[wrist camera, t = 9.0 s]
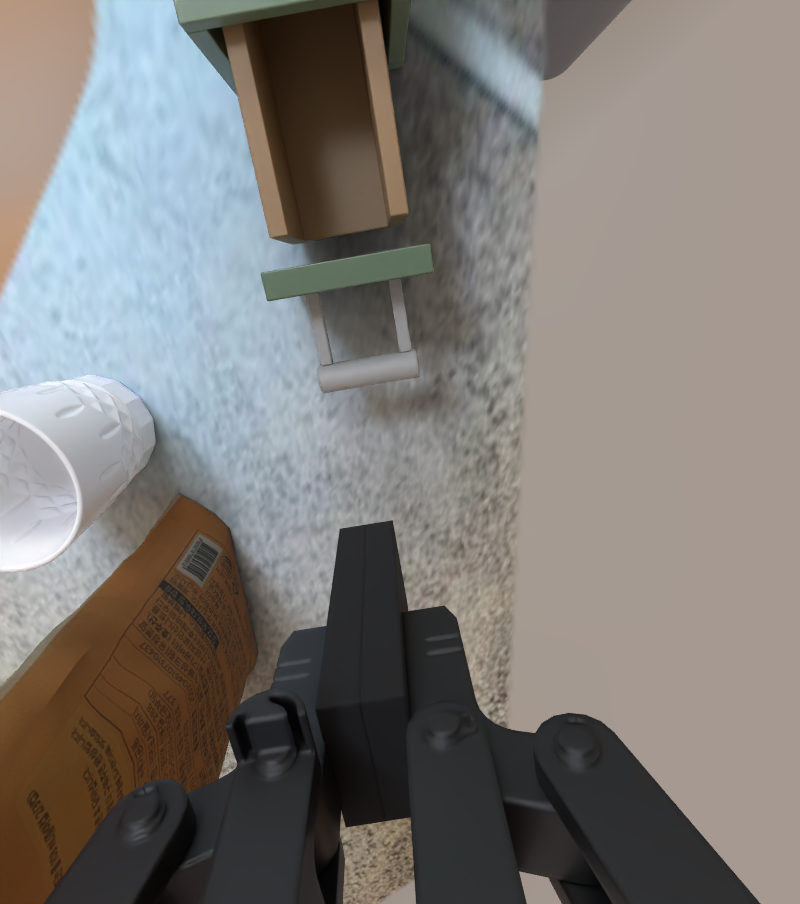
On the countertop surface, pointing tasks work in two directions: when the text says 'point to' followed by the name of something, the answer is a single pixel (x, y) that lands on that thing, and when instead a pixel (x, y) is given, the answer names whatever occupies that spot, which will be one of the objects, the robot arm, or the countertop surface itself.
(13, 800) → the pancake mix bag
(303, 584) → the countertop surface
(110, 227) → the countertop surface
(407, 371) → the drawer
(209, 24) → the cabinet
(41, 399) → the white cup
